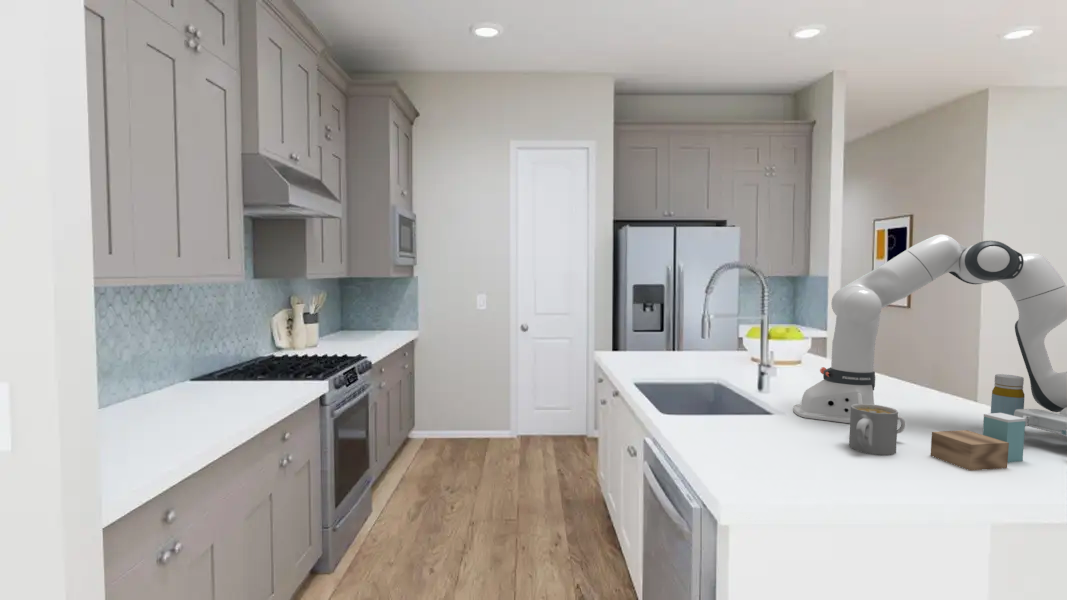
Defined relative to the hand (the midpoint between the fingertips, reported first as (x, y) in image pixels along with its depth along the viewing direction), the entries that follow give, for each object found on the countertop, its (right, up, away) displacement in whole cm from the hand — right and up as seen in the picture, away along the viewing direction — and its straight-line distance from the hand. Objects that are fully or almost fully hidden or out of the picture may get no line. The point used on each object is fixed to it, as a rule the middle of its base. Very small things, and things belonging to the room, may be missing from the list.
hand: (1042, 427), depth 139 cm
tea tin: (-12, -7, -3) cm, 14 cm away
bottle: (+9, -6, +22) cm, 24 cm away
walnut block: (-22, -7, -6) cm, 24 cm away
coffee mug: (-41, -6, +2) cm, 41 cm away
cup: (-33, -6, +10) cm, 35 cm away
